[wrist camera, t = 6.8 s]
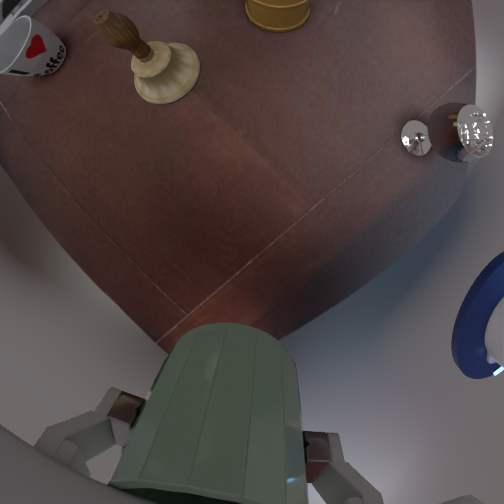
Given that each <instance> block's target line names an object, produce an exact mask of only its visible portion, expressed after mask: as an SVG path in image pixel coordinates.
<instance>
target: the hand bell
mask: <svg viewBox="0 0 504 504" xmlns="http://www.w3.org/2000/svg"><path fill="white" fill-rule="evenodd" d="M94 22H95V24H96V25H97V28H98V30H99V33H100V35H101V36H102V38H103V39H104V40H105V41H107V42H108V43H109V44H111V45H113V46H115V47H117V48H121V49H127V50H129V51H130V52H131V53H132V54H133V55H134V56H133V58H132V62H131V66H132V70H133V72H134V73H135V75H134V82H135V87H136V90H137V92H138V94H139V95H140V96H141V97H142V98H143V99H144V100H146V101H148V102H150V103H153V104H168V103H171V102H174V101H176V100H178V99H180V98H182V97H183V96H185V95H186V94H187V93H188V92H189V91H190V90H191V89H192V88H193V86H194V85H195V83H196V81H197V79H198V77H199V73H200V61H199V58H198V56H197V54H196V52H195V51H194V50H193V49H192V48H190V47H189V46H187V45H184V44H181V43H163V42H160V41H152V42H148V43H145V42H144V41H143V40H142V39H141V38H140V37H139V33H138V30H137V28H136V26H135V25H134V23H133V22H132V21H131V20H130V19H128V18H127V17H126V16H124V15H122V14H118V13H114V12H110V11H108V10H101V11H99V12H98V13H97V14H96V15H95V17H94Z"/></svg>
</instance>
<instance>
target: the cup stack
mask: <svg viewBox="0 0 504 504" xmlns="http://www.w3.org/2000/svg"><path fill="white" fill-rule="evenodd" d="M310 2H311V0H246V3H245V9H246V14H247V16H248V18H249V19H250V21H251V22H252V23H253V24H255V25H256V26H258V27H259V28H261V29H264V30H267V31H271V32H288V31H292V30H295V29H297V28H299V27H300V26H302V25H303V24H304V23H305V22H306V21H307V19H308V17H309V13H310Z"/></svg>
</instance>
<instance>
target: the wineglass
mask: <svg viewBox="0 0 504 504" xmlns="http://www.w3.org/2000/svg"><path fill="white" fill-rule="evenodd" d="M401 139H402V143H403V145H404V147H405V148H406V150H407V151H408V152H409V153H411V154H412V155H415V156H422V155H425V154H426V153H427V152H428V151H429V150H430V148H431V145H432V147H433V148H434V150H435V151H436V152H437V153H438V154H439V155H440V156H441V157H443V158H444V159H446V160H449V161H452V162H459V163H462V162H469V161H473V160H476V159H479V158H481V157H483V156H485V155H487V154H488V153H489V151H490V150H491V148H492V144H493V131H492V126H491V123H490V121H489V119H488V117H487V116H486V114H485V113H484V112H483V111H482V110H481V109H480V108H479V107H477V106H475V105H471V104H465V103H448V104H444V105H441V106H440V107H438V108H437V109H435V110H434V111H433V112H432V114H431V115H430V117H429V120H428V124H427V126H426V125H425V124H423V123H422V122H420V121H417V120H411V121H408V122H407V123H406V124H405V125H404V126H403V128H402V131H401Z"/></svg>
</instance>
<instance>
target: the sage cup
mask: <svg viewBox="0 0 504 504" xmlns="http://www.w3.org/2000/svg"><path fill="white" fill-rule="evenodd" d="M105 484H106V485H109V486H111V487H113V488H116V489H119V490H121V491H124V492H127V493H129V494H132V495H135V496H138V497H141V498H144V499H147V500H150V501H153V502H157V503H160V504H309V499H308V485H307V472H306V460H305V448H304V437H303V426H302V416H301V406H300V396H299V388H298V379H297V371H296V367H295V363H294V360H293V358H292V356H291V355H290V353H289V351H288V350H287V349H286V348H285V347H284V346H283V345H282V344H281V343H280V342H279V341H278V340H277V339H275V338H274V337H273V336H271V335H270V334H268V333H266V332H264V331H262V330H260V329H257V328H255V327H252V326H248V325H244V324H238V323H228V322H221V323H211V324H206V325H203V326H199V327H197V328H195V329H192V330H190V331H189V332H187V333H185V334H184V335H183V336H182V337H180V338H179V339H178V340H177V342H176V343H175V344H174V346H173V347H172V349H171V351H170V353H169V355H168V356H167V358H166V359H165V361H164V363H163V365H162V367H161V369H160V371H159V373H158V375H157V377H156V379H155V381H154V383H153V385H152V387H151V389H150V391H149V393H148V395H147V397H146V399H145V401H144V403H143V405H142V407H141V409H140V411H139V413H138V415H137V417H136V419H135V421H134V423H133V425H132V427H131V429H130V431H129V433H128V435H127V437H126V440H125V442H124V444H123V446H122V448H121V450H120V452H119V454H118V456H117V459H116V461H115V463H114V465H113V467H112V469H111V472H110V473H109V476H108V478H107V480H106V482H105Z"/></svg>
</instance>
